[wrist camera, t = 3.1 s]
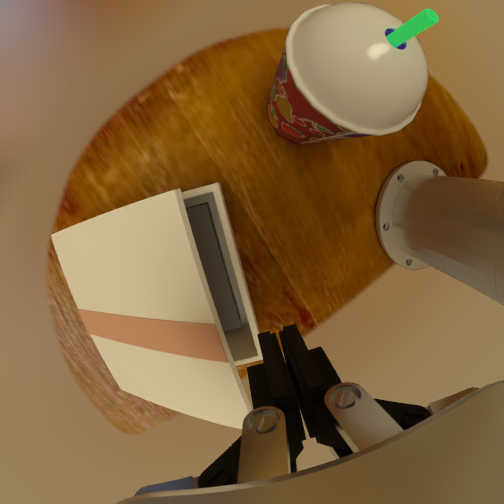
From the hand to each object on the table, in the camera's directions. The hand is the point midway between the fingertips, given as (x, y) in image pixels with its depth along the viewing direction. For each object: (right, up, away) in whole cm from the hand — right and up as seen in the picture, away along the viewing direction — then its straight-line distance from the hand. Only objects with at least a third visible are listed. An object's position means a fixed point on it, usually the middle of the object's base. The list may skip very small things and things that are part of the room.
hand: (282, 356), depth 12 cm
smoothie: (+3, +18, +13) cm, 23 cm away
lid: (-9, -1, +6) cm, 11 cm away
